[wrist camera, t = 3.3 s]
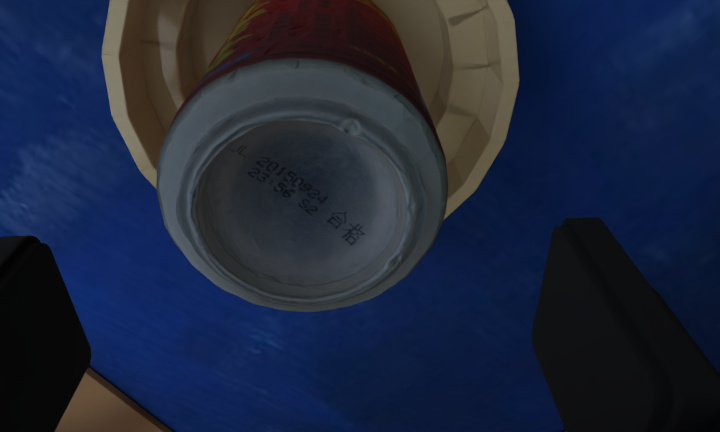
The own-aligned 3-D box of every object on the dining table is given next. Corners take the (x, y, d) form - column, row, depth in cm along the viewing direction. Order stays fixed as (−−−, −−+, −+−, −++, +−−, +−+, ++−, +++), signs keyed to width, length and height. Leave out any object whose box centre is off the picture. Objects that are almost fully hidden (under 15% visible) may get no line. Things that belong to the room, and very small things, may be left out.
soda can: (340, 168, 25) (341, 369, 15) (203, 82, 23) (92, 251, 13) (437, 42, 22) (522, 185, 12) (292, -70, 20) (241, -13, 10)
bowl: (72, 2, 22) (7, 33, 17) (378, -235, 18) (391, -268, 14) (281, 246, 28) (271, 311, 24) (535, 108, 25) (576, 157, 20)
